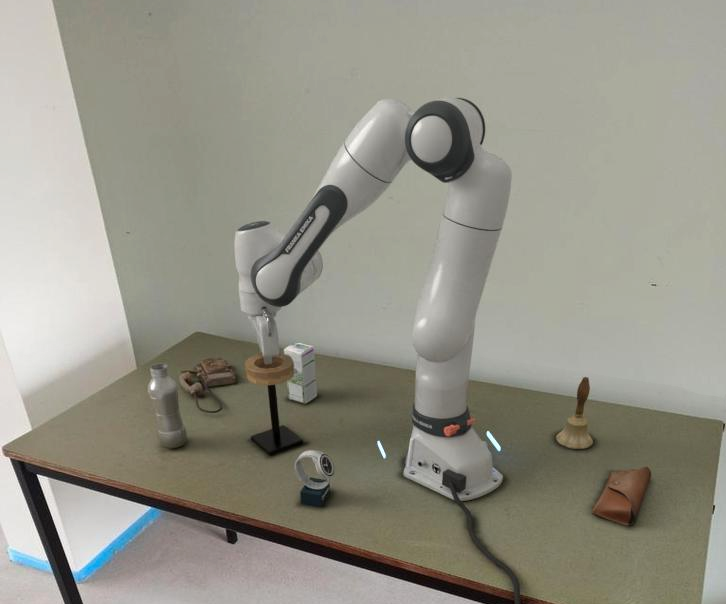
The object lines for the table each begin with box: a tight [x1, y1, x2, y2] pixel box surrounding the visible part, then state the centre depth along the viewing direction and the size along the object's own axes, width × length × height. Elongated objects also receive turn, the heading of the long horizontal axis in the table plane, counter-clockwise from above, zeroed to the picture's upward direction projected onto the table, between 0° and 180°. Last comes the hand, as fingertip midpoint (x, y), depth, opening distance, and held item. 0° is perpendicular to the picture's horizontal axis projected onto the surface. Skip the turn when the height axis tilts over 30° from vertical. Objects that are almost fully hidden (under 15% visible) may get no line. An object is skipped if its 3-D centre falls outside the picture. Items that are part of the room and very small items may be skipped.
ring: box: [244, 352, 294, 386], centre depth 148 cm, size 11×11×3 cm
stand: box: [250, 384, 304, 457], centre depth 154 cm, size 9×9×17 cm
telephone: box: [178, 357, 237, 414], centre depth 182 cm, size 15×33×4 cm, turn 23°
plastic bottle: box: [147, 362, 188, 449], centre depth 153 cm, size 6×7×20 cm
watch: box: [293, 449, 335, 509], centre depth 136 cm, size 6×8×11 cm
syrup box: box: [283, 341, 318, 405], centre depth 174 cm, size 6×6×14 cm
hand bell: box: [555, 376, 594, 450], centre depth 153 cm, size 8×8×16 cm
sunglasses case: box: [591, 466, 652, 527], centre depth 136 cm, size 18×7×7 cm
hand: (266, 360), depth 152 cm, fingers closed on ring, 2 cm apart
